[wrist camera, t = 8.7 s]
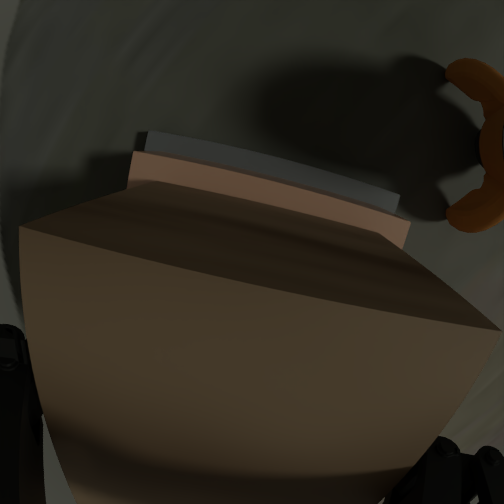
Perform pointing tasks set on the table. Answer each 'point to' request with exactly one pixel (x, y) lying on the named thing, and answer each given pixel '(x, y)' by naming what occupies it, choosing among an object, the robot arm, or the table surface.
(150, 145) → the build base
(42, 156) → the table surface
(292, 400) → the walnut brick
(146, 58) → the table surface
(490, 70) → the toy rocket
